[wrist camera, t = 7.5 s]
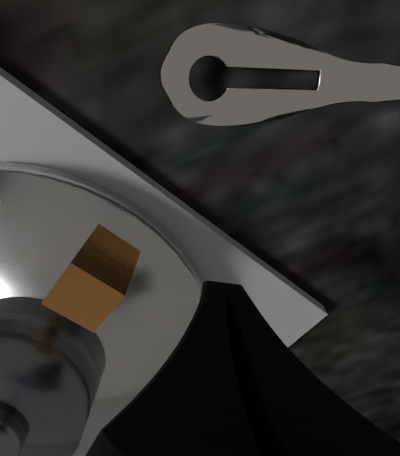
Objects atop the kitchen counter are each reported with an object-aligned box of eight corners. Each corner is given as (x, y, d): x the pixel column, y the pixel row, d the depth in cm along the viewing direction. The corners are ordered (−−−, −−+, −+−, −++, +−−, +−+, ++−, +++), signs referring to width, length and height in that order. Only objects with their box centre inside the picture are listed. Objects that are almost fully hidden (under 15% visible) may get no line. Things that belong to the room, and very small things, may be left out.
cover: (63, 418, 17) (20, 521, 13) (-60, 360, 16) (-151, 459, 12) (132, 346, 15) (107, 442, 11) (-1, 269, 13) (-89, 350, 9)
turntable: (102, 474, 22) (80, 561, 18) (-182, 352, 17) (-297, 433, 13) (288, 311, 16) (316, 386, 12) (-68, 61, 11) (-211, 50, 7)
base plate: (122, 473, 24) (120, 485, 23) (-203, 331, 18) (-220, 342, 17) (322, 304, 17) (327, 314, 17) (-90, 1, 12) (-109, -5, 11)
